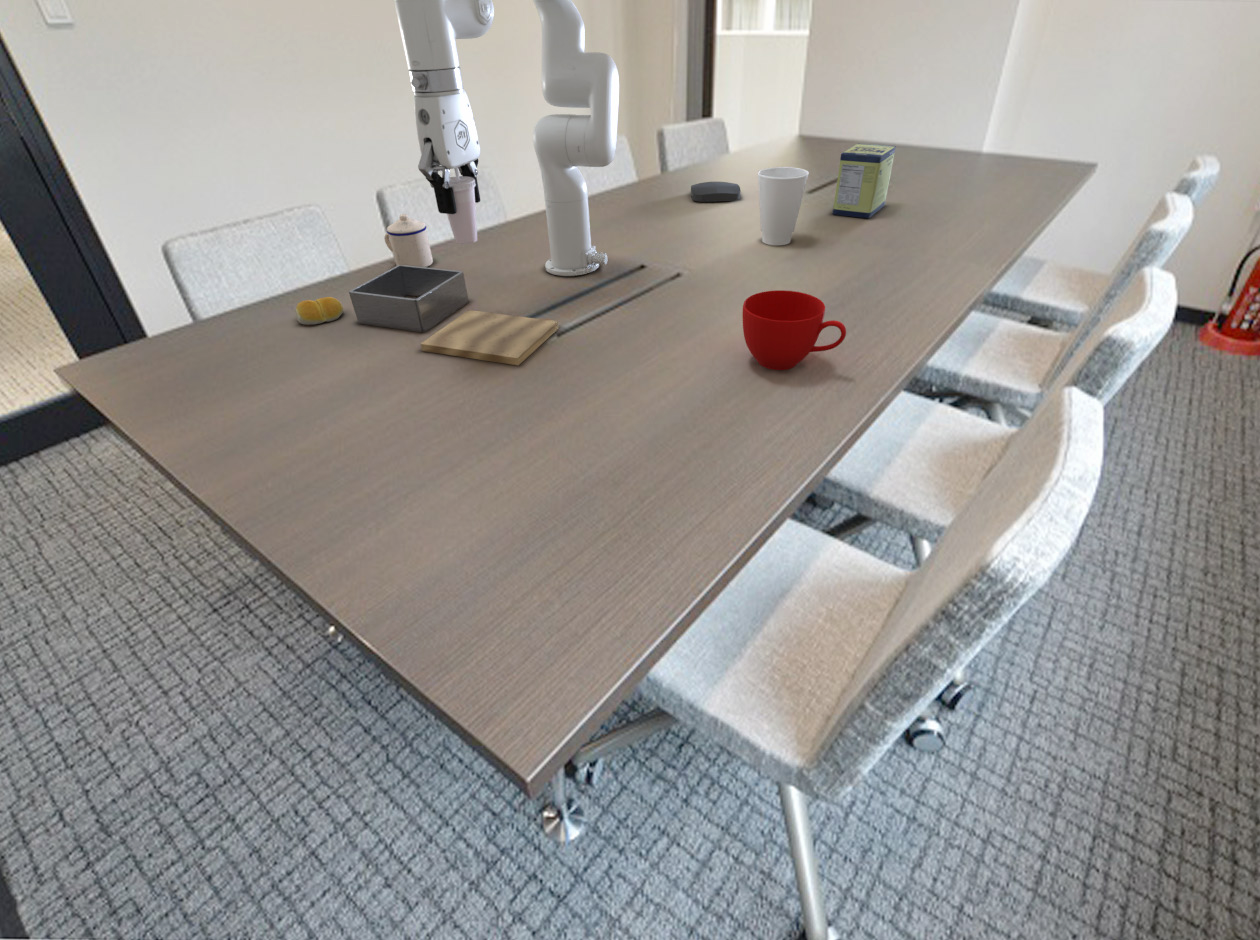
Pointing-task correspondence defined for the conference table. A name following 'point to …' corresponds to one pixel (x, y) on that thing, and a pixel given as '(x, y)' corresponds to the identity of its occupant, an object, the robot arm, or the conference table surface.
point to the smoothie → (463, 209)
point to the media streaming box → (715, 191)
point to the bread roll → (318, 310)
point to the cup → (780, 202)
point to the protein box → (863, 180)
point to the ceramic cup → (785, 327)
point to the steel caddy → (389, 309)
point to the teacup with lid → (409, 242)
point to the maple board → (491, 337)
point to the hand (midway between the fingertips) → (460, 206)
